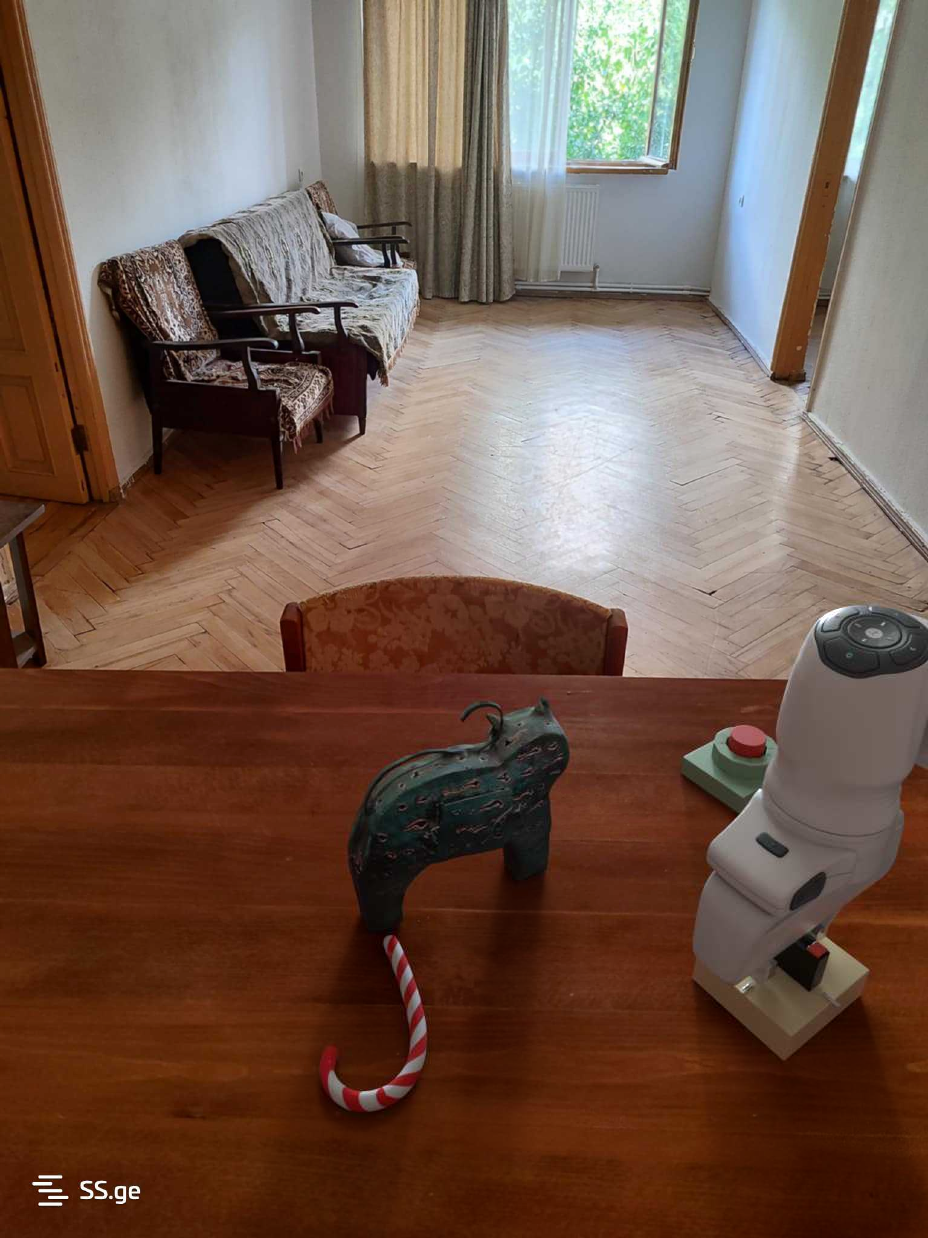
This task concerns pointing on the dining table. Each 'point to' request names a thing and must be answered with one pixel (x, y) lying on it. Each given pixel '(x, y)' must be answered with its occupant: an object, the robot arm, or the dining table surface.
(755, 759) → the button box
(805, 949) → the black battery pack
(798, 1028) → the battery holder base
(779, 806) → the robot arm
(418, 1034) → the candy cane
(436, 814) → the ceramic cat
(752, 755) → the red button
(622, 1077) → the dining table surface
